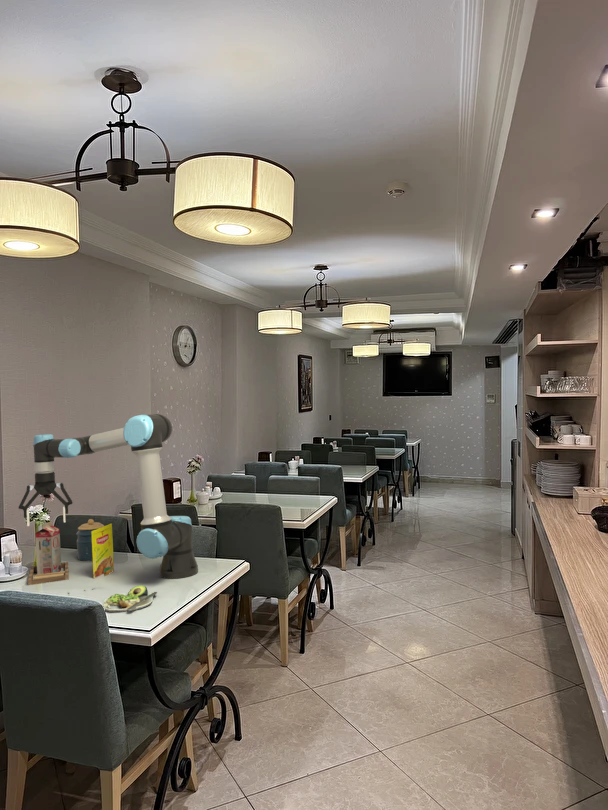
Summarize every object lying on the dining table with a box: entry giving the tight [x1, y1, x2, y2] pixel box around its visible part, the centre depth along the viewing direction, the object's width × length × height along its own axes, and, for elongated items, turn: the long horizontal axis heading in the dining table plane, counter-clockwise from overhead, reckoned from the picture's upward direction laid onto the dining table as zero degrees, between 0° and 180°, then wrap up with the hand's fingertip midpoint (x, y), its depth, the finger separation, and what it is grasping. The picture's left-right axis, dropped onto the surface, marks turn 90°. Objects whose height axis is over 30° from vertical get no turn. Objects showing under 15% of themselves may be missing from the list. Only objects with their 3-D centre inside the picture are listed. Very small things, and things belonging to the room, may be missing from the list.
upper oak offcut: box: [33, 570, 65, 580], centre depth 233 cm, size 5×11×2 cm, turn 107°
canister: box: [75, 518, 105, 562], centre depth 271 cm, size 13×13×18 cm
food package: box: [91, 522, 115, 579], centre depth 239 cm, size 15×1×20 cm, turn 168°
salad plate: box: [102, 584, 158, 613], centre depth 202 cm, size 19×18×5 cm
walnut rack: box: [27, 561, 70, 586], centre depth 238 cm, size 21×14×4 cm
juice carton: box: [35, 521, 62, 575], centre depth 242 cm, size 7×7×22 cm
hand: (46, 523), depth 242 cm, fingers open, 13 cm apart
